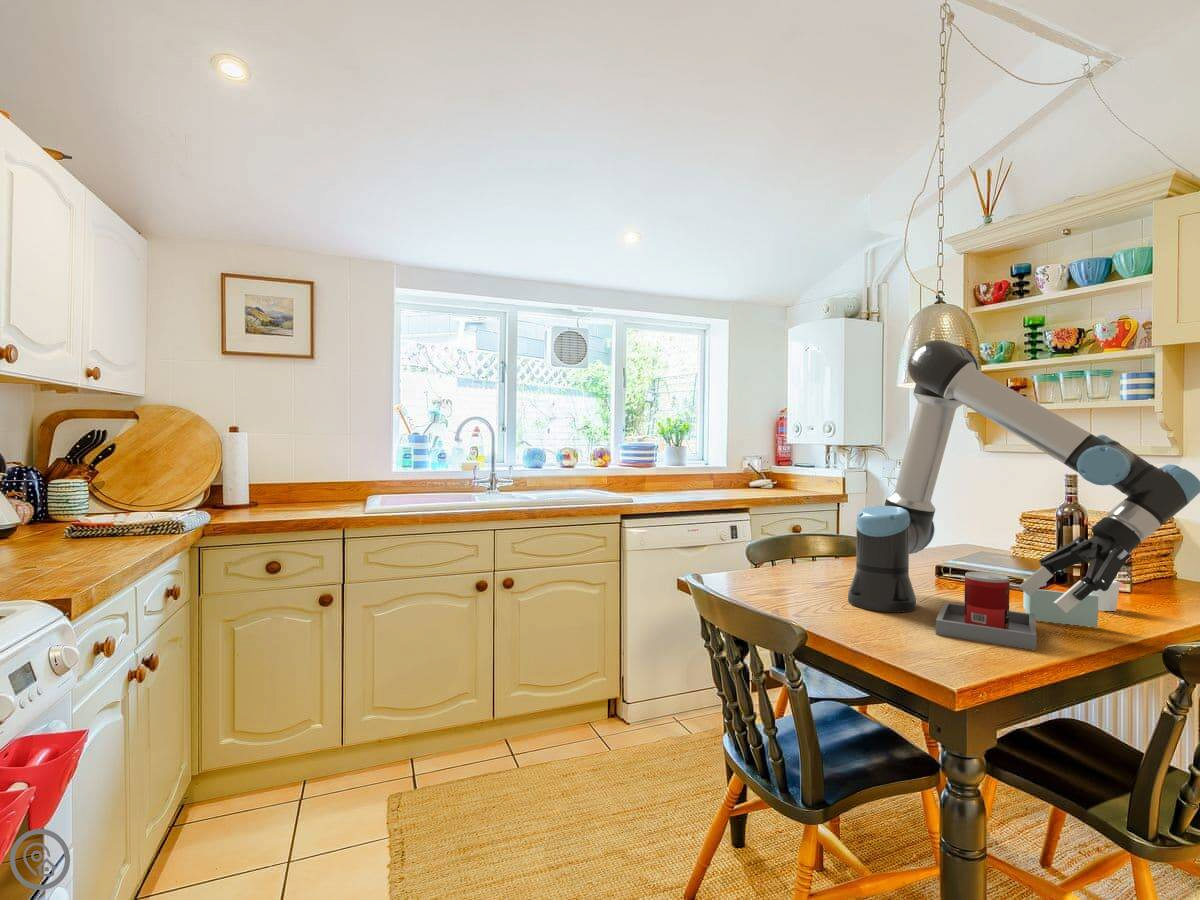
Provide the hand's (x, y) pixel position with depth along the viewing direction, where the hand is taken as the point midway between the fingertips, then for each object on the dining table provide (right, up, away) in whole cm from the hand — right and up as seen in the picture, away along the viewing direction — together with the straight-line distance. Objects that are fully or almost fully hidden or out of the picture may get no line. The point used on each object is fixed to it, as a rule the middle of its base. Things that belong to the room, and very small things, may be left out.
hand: (1040, 599), depth 129 cm
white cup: (+28, -7, +19) cm, 35 cm away
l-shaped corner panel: (+13, -8, +12) cm, 20 cm away
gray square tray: (-10, -7, +2) cm, 13 cm away
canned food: (-10, -7, +2) cm, 12 cm away
